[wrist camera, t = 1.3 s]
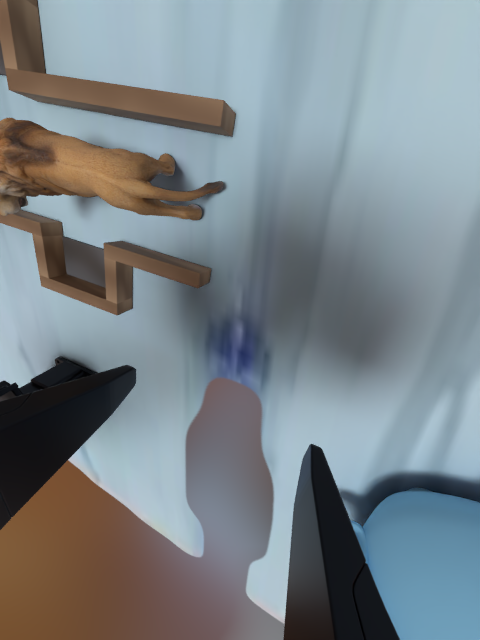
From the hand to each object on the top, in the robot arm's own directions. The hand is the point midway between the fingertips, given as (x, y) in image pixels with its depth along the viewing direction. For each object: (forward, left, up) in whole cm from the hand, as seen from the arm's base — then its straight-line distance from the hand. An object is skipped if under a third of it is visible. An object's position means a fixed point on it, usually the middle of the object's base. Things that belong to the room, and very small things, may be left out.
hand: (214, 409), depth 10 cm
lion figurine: (+7, +13, -11) cm, 19 cm away
